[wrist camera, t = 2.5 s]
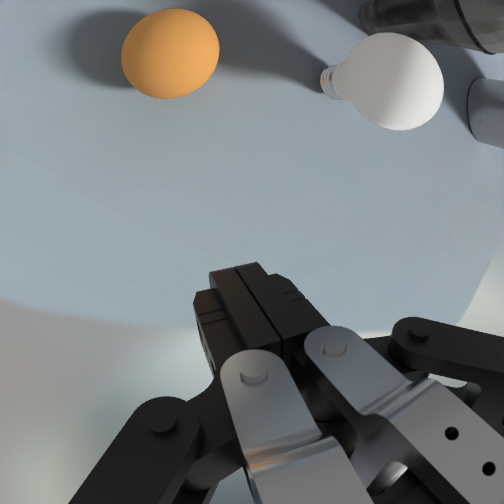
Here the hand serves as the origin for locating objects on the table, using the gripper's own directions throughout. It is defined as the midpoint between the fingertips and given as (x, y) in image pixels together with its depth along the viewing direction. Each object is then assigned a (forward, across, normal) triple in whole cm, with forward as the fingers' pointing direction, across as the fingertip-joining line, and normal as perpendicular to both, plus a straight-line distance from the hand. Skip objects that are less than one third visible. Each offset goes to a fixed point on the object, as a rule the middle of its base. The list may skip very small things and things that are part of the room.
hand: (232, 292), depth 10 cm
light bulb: (+15, -13, -8) cm, 21 cm away
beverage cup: (+15, -19, -14) cm, 28 cm away
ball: (+12, 0, -10) cm, 15 cm away
